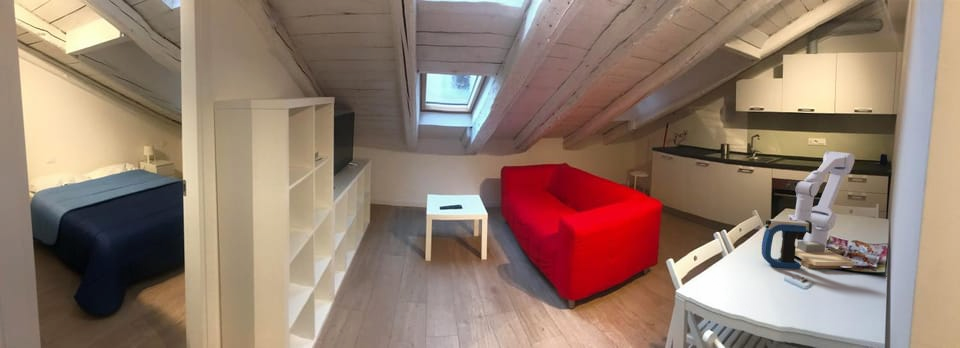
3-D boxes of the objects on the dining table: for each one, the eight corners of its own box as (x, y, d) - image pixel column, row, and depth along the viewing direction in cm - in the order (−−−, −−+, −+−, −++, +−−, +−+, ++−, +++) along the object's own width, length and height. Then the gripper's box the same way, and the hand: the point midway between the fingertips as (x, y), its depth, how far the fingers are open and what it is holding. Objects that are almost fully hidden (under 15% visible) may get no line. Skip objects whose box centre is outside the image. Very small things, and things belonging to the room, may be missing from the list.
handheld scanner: (807, 270, 179) (814, 222, 176) (763, 266, 182) (769, 220, 179) (802, 266, 183) (808, 220, 180) (758, 263, 186) (764, 217, 183)
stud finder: (796, 247, 195) (797, 240, 194) (815, 248, 195) (816, 240, 194) (805, 252, 190) (806, 244, 189) (824, 252, 190) (825, 244, 189)
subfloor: (777, 252, 199) (779, 244, 198) (818, 252, 199) (819, 244, 199) (811, 270, 179) (813, 261, 179) (856, 270, 180) (858, 262, 179)
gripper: (783, 204, 203) (779, 234, 206) (806, 213, 189) (802, 244, 191) (798, 205, 203) (794, 234, 206) (823, 213, 189) (818, 245, 192)
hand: (799, 239), depth 199 cm, fingers closed
